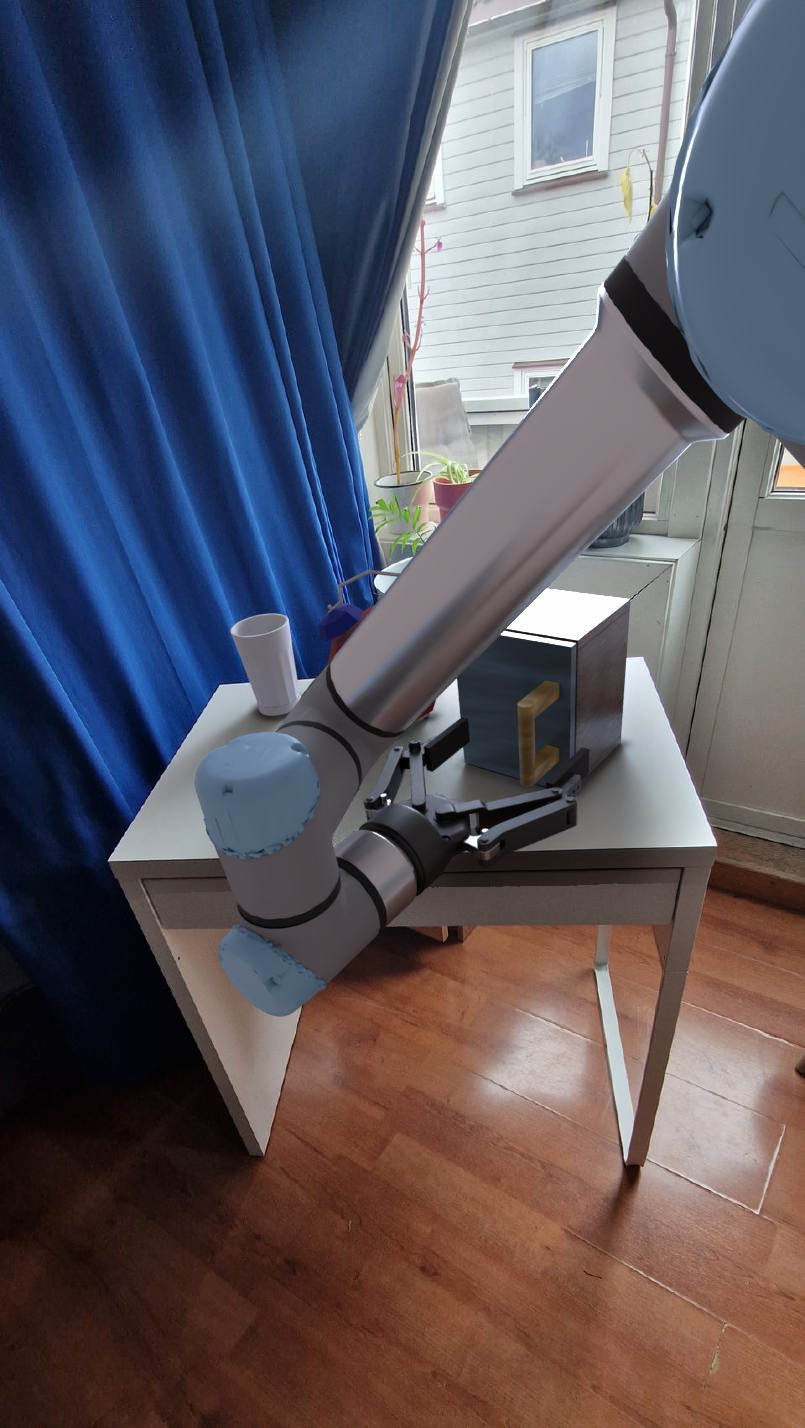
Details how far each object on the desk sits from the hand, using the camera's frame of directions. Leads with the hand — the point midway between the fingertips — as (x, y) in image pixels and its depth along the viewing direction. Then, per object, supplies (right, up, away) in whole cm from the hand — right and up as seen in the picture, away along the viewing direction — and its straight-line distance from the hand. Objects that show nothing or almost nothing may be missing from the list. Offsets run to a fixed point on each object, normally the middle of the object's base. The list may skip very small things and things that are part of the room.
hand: (522, 744), depth 71 cm
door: (-1, -3, +10) cm, 11 cm away
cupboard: (+5, +2, +15) cm, 16 cm away
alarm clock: (-13, +8, +27) cm, 31 cm away
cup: (-30, +12, +34) cm, 47 cm away
